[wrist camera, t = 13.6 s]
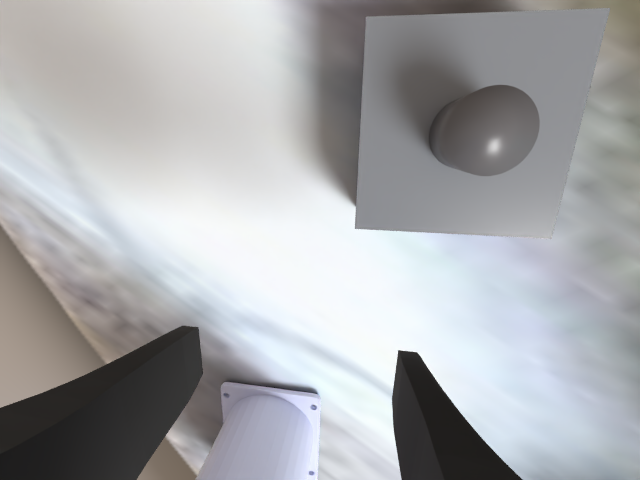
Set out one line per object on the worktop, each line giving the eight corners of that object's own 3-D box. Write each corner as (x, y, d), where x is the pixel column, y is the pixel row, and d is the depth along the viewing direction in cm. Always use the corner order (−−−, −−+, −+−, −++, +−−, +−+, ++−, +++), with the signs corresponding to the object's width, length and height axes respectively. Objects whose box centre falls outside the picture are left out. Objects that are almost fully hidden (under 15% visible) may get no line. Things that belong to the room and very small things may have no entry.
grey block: (504, 214, 18) (599, 264, 11) (357, 208, 19) (352, 249, 12) (539, 46, 16) (694, -38, 8) (365, 50, 17) (366, -22, 9)
